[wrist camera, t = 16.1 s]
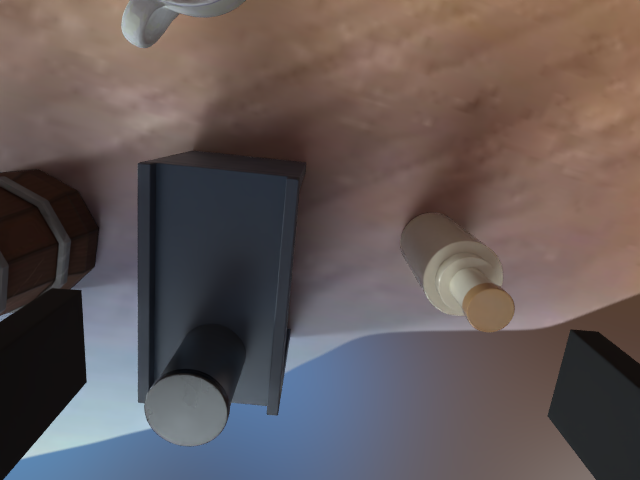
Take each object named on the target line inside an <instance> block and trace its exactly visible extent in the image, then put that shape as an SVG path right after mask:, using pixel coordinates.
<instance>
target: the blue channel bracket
mask: <svg viewBox="0 0 640 480" xmlns="http://www.w3.org/2000/svg"><path fill="white" fill-rule="evenodd" d="M305 172H306V162H297V161H288V160H278V159H268V158H259V157H249V156H240V155H230V154H220V153H211V152H201V151H189V152H185V153H180V154H176V155H171V156H167V157H162V158H158V159H153V160H149V161H145V162H140V163H138V402H139V403H145V399H146V396H147V393H148V391H149V390H150V388H151V387H152V385H153V384H154V382H155V381H156V380H157V379H158V378H159V377H160V376H161V374H162V373H163V371H164V370H165V368H166V366H167V365H168V363H169V362H170V360H171V359H172V357H173V356H174V354H175V352H176V351H177V349H178V348H179V346H180V345H181V343H182V342H183V340H184V338H185V337H186V336H187V334H188V333H189V332H190V331H192V330H193V329H195V328H197V327H199V326H202V325H207V324H215V325H221V326H224V327H226V328H228V329H230V330H232V331H233V332H234V333H235V334H236V335H237V336H238V337H239V338H240V340H241V341H242V343H243V345H244V348H245V362H244V366H243V369H242V372H241V375H240V378H239V381H238V384H237V387H236V390H235V393H234V396H233V399H232V402H231V403H241V404H252V405H262V406H267V415H278V411H279V404H280V398H281V391H282V385H283V378H284V372H285V366H286V359H287V353H288V347H289V340H290V332H291V329H287V321H288V310H289V299H290V288H291V277H292V266H293V255H294V244H295V234H296V223H297V212H298V201H299V190H300V187H301V184H302V181H303V178H304V176H305Z"/></svg>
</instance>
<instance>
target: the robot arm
mask: <svg viewBox="0 0 640 480" xmlns="http://www.w3.org/2000/svg"><path fill="white" fill-rule="evenodd" d="M86 382H87V380H86V363H85V346H84V328H83V311H82V294H81V290H70V289H58V288H51V289H49V290H48V291H46V292H45V293H43V294H42V295H40V296H39V297H37V298H36V299H34V300H33V301H31V302H30V303H28V304H27V305H25V306H24V307H22V308H21V309H19V310H18V311H16V312H15V313H13V314H12V315H10V316H9V317H7V318H6V319H4V320H2V321H1V322H0V480H3V479H4V478H5V477H6V476H7V475H8V473H9V472H10V471H11V470H12V469H13V468H14V466H15V465H16V464H17V463H18V462H19V461H20V459H21V458H22V457H23V456H24V455H25V454H26V452H27V451H28V450H29V449H30V448H31V447H32V445H33V444H34V443H35V442H36V441H37V440H38V438H39V437H40V436H41V435H42V434H43V433H44V431H45V430H46V429H47V428H48V427H49V426H50V424H51V423H52V422H53V421H54V420H55V418H56V417H57V416H58V415H59V414H60V413H61V411H62V410H63V409H64V408H65V407H66V406H67V404H68V403H69V402H70V401H71V400H72V399H73V397H74V396H75V395H76V394H77V393H78V392H79V390H80V389H81V388H82V387H83V386H84V385H85V383H86ZM548 417H549V418H550V420H551V421H552V423H553V424H554V425H555V426H556V428H557V429H558V430H559V432H560V433H561V434H562V436H563V437H564V438H565V440H566V441H567V442H568V443H569V445H570V446H571V447H572V449H573V450H574V451H575V453H576V454H577V455H578V457H579V458H580V459H581V461H582V462H583V463H584V465H585V466H586V467H587V468H588V470H589V471H590V472H591V474H592V475H593V476H594V478H595V479H596V480H640V364H639V363H638V362H636V361H635V360H634V359H632V358H631V357H630V356H629V355H627V354H626V353H625V352H623V351H622V350H621V349H620V348H618V347H617V346H616V345H615V344H613V343H612V342H611V341H609V340H608V339H607V338H606V337H604V336H603V335H602V334H600V333H599V332H595V331H582V330H570V334H569V338H568V342H567V345H566V349H565V352H564V356H563V360H562V364H561V367H560V371H559V375H558V379H557V383H556V387H555V390H554V394H553V398H552V402H551V405H550V409H549V413H548Z"/></svg>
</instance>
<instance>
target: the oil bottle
mask: <svg viewBox="0 0 640 480" xmlns="http://www.w3.org/2000/svg"><path fill="white" fill-rule="evenodd" d="M400 248H401V252H402V255H403V257H404V259H405V261H406V262H407V264H408V266H409V267H410V269H411V271H412V273H413V274H414V276H415V278H416V279H417V281H418V283H419V285H420V286H421V288H422V290H423V291H424V293H425V295H426V296H427V298H428V300H429V301H430V303H431V304H432V305H433V306H434V307H436V308H437V309H438V310H440V311H442V312H444V313H446V314H450V315H455V316H465V317H466V318H467V320H468V321H469V323H470V324H471V325H472V326H473V327H474V328H475V329H477V330H479V331H482V332H495V331H498V330H500V329H502V328H504V327H505V326H506V325H508V324H509V322H510V321H511V319H512V317H513V315H514V310H515V306H514V302H513V299H512V298H511V296H510V295H509V294H508V293H507V292H506V291H505V290H504V289H503V288H501V286H502V281H503V269H502V265H501V262H500V260H499V258H498V257H497V255H496V254H495V253H494V252H493V251H492V250H491V249H490V248H489V247H487V246H486V245H485V244H483V243H482V242H481V241H479V240H478V239H477V238H476V237H474V236H473V235H472V234H470V233H469V232H468V231H466V230H465V229H464V228H462V227H461V226H460V225H459V224H457V223H456V222H455V221H453V220H452V219H451V218H449V217H448V216H446V215H443V214H440V213H425V214H422V215H419V216H417V217H415V218H414V219H413V220H411V221H410V222H409V223H408V224H407V226H406V227H405V228H404V230H403V232H402V235H401V239H400Z"/></svg>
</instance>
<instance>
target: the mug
mask: <svg viewBox="0 0 640 480" xmlns="http://www.w3.org/2000/svg"><path fill="white" fill-rule="evenodd" d="M98 231H99V228H98V227H97V225H96V223H95V221H94V219H93V218H92V216H91V214H90V212H89V210H88V209H87V207H86V205H85V203H84V201H83V200H82V198H81V196H80V194H79V192H78V191H77V190H75V189H73V188H71V187H69V186H68V185H66V184H64V183H62V182H61V181H59V180H57V179H55V178H53V177H52V176H50V175H48V174H46V173H45V172H43V171H41V170H39V169H38V170H26V171H15V172H3V173H0V316H1V315H3V314H5V313H13V312H16V311H18V310H19V309H21V308H22V307H24V306H25V305H27V304H28V303H30V302H31V301H33V300H34V299H36V298H37V297H39V296H40V295H42V294H43V293H45V292H46V291H48V290H49V289H51V288H58V289H71V288H72V287H73V286H74V285H75V284H77V283H78V282H79V281H80V280H81V279H82V278H83V277H84V276H85V275H86V274H87V273H88V272H89V271H91V270H92V269H93V268H94V266H95V257H96V248H97V240H98Z"/></svg>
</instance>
